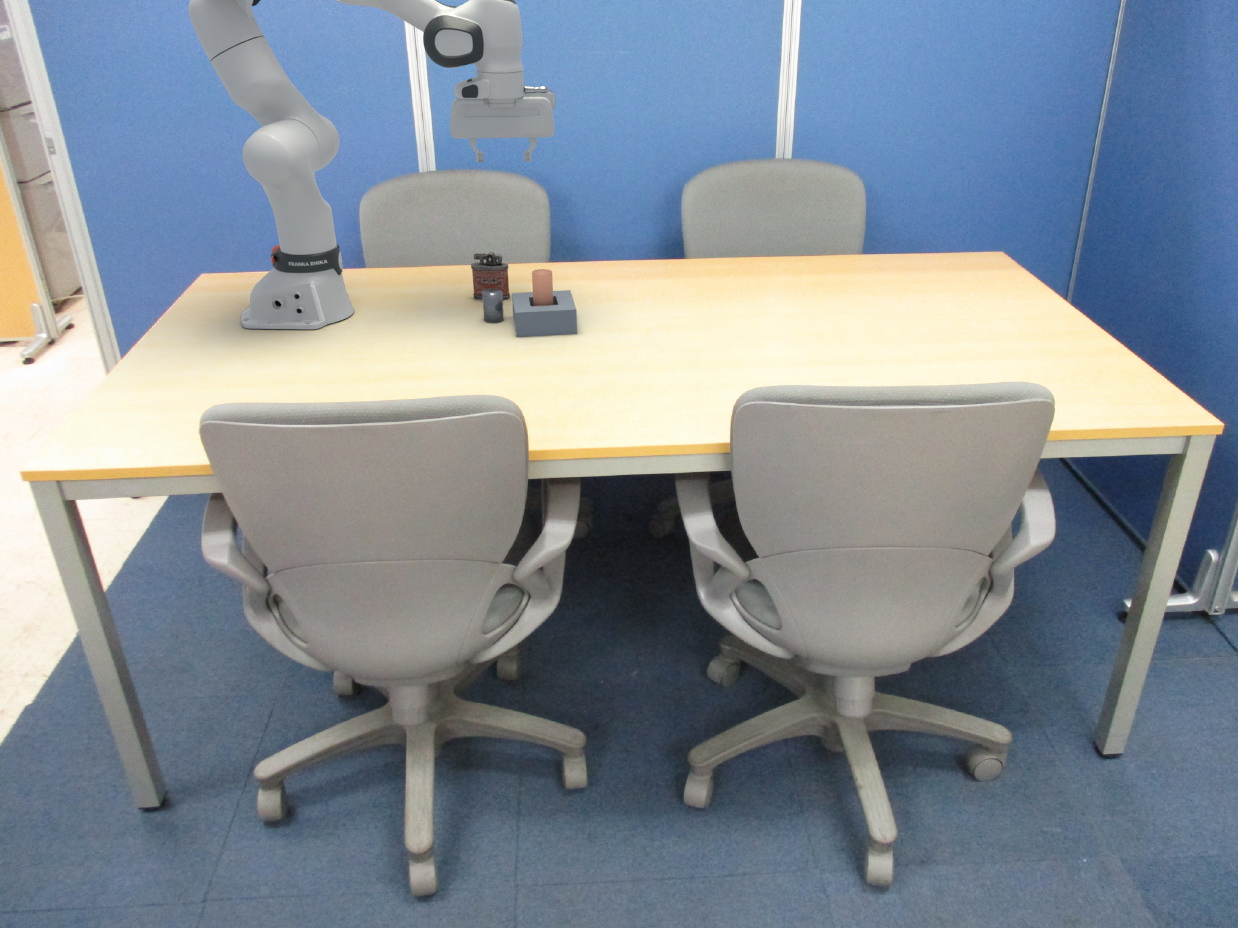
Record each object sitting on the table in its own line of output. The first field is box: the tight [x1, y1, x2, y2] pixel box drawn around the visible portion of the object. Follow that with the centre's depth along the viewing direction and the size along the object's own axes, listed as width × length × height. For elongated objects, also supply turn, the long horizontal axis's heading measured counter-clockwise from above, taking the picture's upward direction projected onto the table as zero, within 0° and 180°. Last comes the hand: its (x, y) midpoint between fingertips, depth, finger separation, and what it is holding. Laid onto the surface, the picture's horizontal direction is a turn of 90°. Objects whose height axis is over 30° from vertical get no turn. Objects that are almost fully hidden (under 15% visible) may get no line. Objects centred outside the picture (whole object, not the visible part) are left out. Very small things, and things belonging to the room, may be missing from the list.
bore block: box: [511, 289, 578, 338], centre depth 199 cm, size 12×12×5 cm
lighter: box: [470, 251, 511, 301], centre depth 213 cm, size 8×3×10 cm, turn 84°
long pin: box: [531, 268, 554, 306], centre depth 198 cm, size 4×4×11 cm
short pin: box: [482, 289, 505, 324], centre depth 201 cm, size 4×4×6 cm
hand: (504, 161), depth 195 cm, fingers open, 8 cm apart
